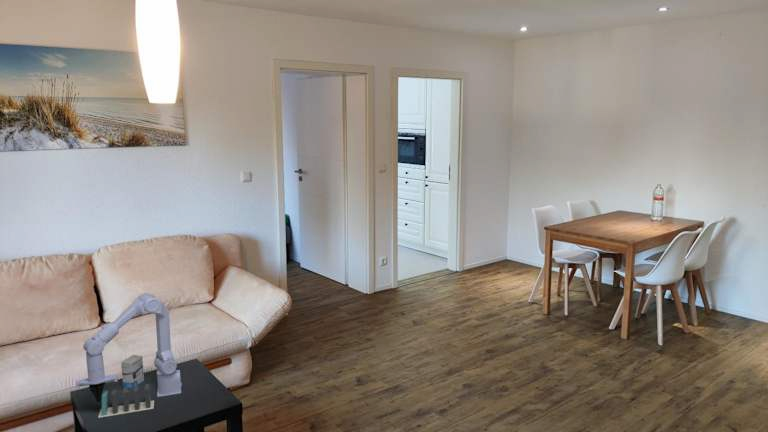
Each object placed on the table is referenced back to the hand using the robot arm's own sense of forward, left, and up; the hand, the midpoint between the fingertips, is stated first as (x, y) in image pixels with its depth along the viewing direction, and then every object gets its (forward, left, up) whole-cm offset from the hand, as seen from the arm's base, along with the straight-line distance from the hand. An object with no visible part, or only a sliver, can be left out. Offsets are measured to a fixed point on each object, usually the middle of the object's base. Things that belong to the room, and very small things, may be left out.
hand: (99, 401), depth 220 cm
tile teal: (-2, 0, -5) cm, 5 cm away
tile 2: (-6, 0, -5) cm, 8 cm away
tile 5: (-18, 0, -5) cm, 18 cm away
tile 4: (-14, 0, -5) cm, 15 cm away
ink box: (-11, -23, -6) cm, 26 cm away
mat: (-10, 0, -5) cm, 11 cm away
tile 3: (-10, 0, -5) cm, 11 cm away
